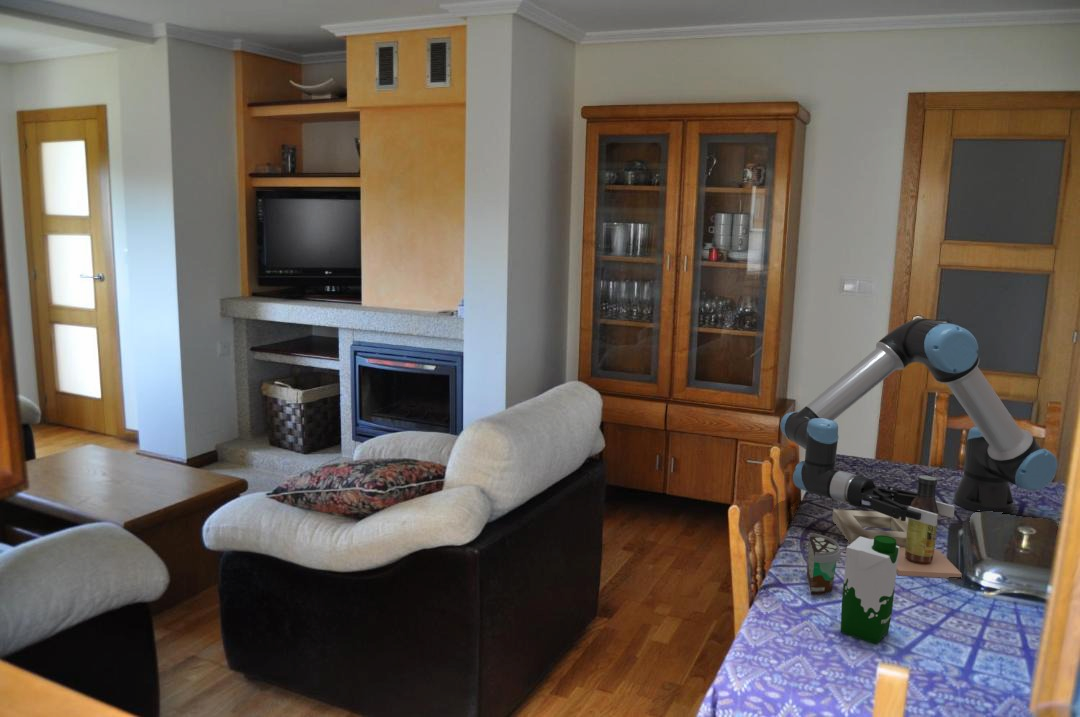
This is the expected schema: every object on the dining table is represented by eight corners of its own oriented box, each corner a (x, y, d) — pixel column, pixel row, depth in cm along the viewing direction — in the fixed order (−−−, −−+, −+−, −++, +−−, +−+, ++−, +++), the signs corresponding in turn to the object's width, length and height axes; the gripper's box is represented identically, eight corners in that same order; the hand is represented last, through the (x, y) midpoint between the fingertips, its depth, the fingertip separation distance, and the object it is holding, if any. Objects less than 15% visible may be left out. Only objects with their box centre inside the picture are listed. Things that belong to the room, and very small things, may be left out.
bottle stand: (900, 523, 228) (901, 512, 227) (925, 550, 210) (927, 538, 210) (832, 520, 229) (833, 509, 228) (851, 546, 211) (852, 535, 211)
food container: (841, 600, 182) (845, 556, 180) (811, 597, 183) (815, 553, 181) (833, 576, 194) (837, 534, 192) (805, 573, 195) (809, 532, 193)
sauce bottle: (929, 566, 197) (938, 483, 194) (901, 559, 201) (909, 478, 198) (936, 558, 202) (945, 477, 199) (908, 552, 206) (917, 472, 203)
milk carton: (880, 648, 163) (890, 549, 159) (833, 632, 168) (842, 536, 165) (894, 631, 169) (905, 536, 166) (849, 616, 175) (858, 524, 171)
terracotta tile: (937, 553, 208) (937, 549, 208) (961, 578, 194) (961, 573, 194) (878, 551, 209) (879, 546, 209) (898, 575, 195) (898, 570, 195)
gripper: (872, 495, 220) (962, 521, 203) (829, 513, 206) (922, 542, 190) (875, 467, 219) (966, 491, 202) (832, 483, 205) (925, 510, 188)
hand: (945, 516), depth 196 cm, fingers open, 8 cm apart
